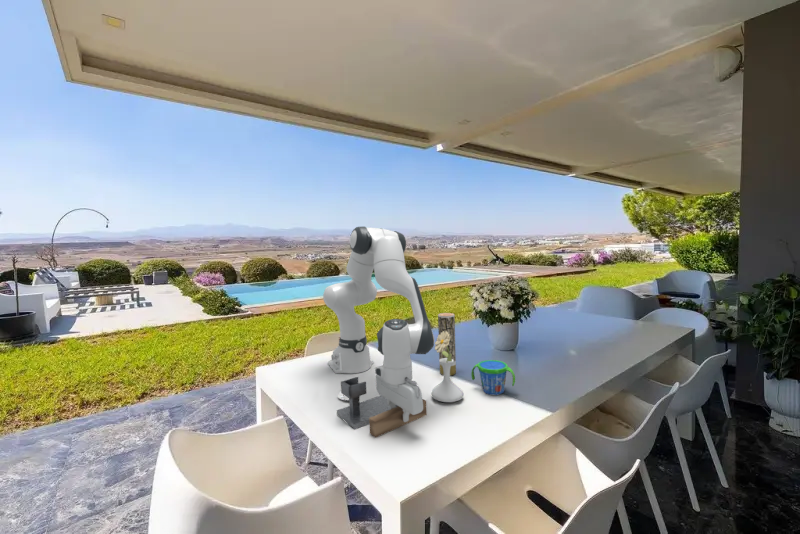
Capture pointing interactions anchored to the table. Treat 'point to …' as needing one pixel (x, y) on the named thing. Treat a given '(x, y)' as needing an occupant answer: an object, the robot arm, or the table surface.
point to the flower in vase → (446, 374)
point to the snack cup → (493, 376)
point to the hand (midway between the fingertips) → (399, 417)
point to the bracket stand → (360, 404)
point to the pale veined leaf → (340, 395)
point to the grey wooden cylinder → (448, 324)
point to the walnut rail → (392, 420)
